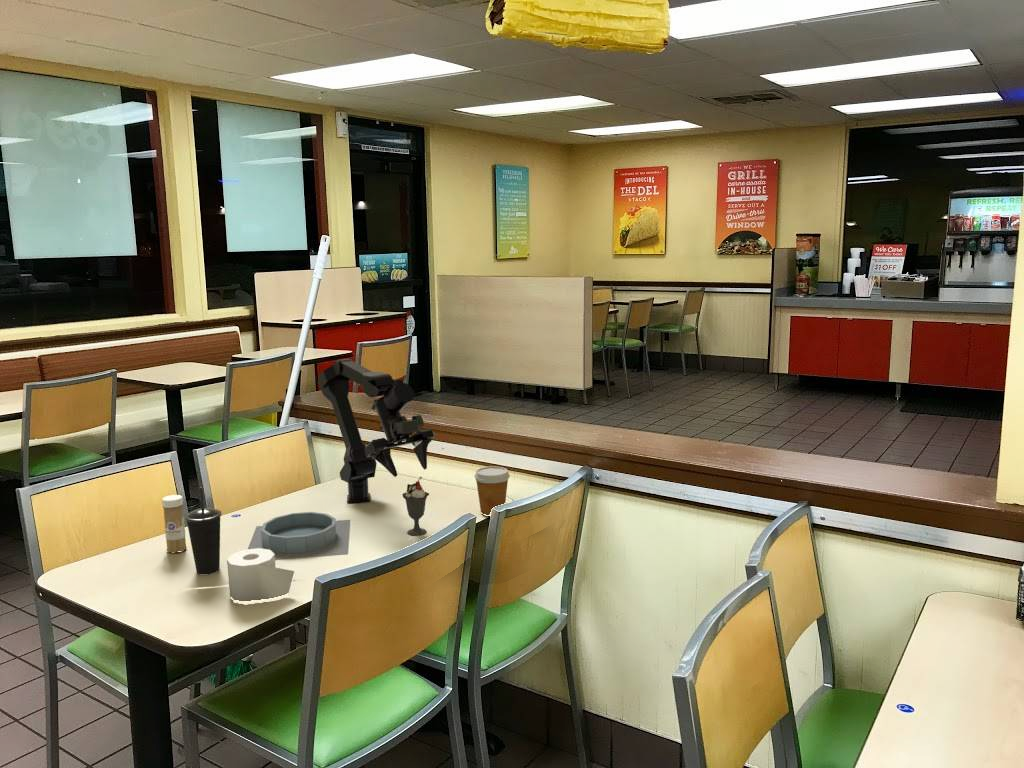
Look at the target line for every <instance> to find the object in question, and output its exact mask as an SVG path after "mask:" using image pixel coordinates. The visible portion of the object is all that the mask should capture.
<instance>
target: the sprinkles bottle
mask: <svg viewBox="0 0 1024 768" xmlns="http://www.w3.org/2000/svg"><path fill="white" fill-rule="evenodd" d="M161 499H162V500H161V504H162V508H163V518H164V532H165V534H164V535H165V539H166V552H167V551H168V552H167V553H169V552H178V551H182V550H185V549H186V548H187V541H186V527H185V516H184V507H183V506H184V499H183V496H182V495H180V494H171V495H167V496H164V497H162V498H161ZM187 549H188V548H187ZM187 549H186V550H187ZM186 550H185V551H186ZM182 552H183V551H182Z"/></svg>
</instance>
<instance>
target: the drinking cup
mask: <svg viewBox="0 0 1024 768" xmlns="http://www.w3.org/2000/svg"><path fill="white" fill-rule="evenodd" d="M198 488H199V498H200V499H199V500H200V508H197V509H194V510H192V511H191V512H188V513H187V514H185V516H184V521H186V524H187V530H188V535H189V539H190V544H191V549H192V555H193V561H194V566H195V570H196V571H195V572H196V574H197V573H199V574H198V575H200V574H208V575H212V574H211V573H213V574H215V573H217V572H219V571H218V570H220V568H221V567H220V566H221V565H220V563H221V561H220V559H221V554H220V553H221V516H222V511H221V510H220V509H217V508H212V507H205V499H204V490H203V489H204V488H203V486H199V487H198ZM216 571H217V572H216ZM214 572H215V573H214Z"/></svg>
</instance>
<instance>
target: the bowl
mask: <svg viewBox="0 0 1024 768" xmlns="http://www.w3.org/2000/svg"><path fill="white" fill-rule="evenodd" d="M336 521H337V519H336V518H335V517H333V516H332V515H330V514H328V513H325V512H324V513H323V512H316V511H315V512H314V511H304V512H293V513H287V514H284V515H280V516H275V517H273V518H271V519H269V520H267V521H266V522H264V523H263V524H262V525H261V526H262V529H261V537H262V546H263V547H264V548H266V549H268V550H271V551H272V552H278V553H285V554H291V553H304V552H310V551H313V550H317V549H320V548H324V547H326V546H328V545H329V544H331V543H332V542H334V541H335V540H336Z"/></svg>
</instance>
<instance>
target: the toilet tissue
mask: <svg viewBox="0 0 1024 768" xmlns="http://www.w3.org/2000/svg"><path fill="white" fill-rule="evenodd" d="M226 562H227V563H226V565H227V576H228V577H227V579H228V587H229V589H228V590H229V597H230V596H231V597H232V598H233V599H234V600H239V601H251V600H261V599H269V598H274V597H278V596H282V595H285V594H287V593H289V592H290V590H291V585H292V581H293V578H294V574H295V570H291V569H290V570H289V569H285V568H280V567H276V560H275V554H274V553H273V552H272V551H271V550H268V549H261V548H256V549H248V548H247V549H243V550H240V551H238V552H234V553H232V554H230V556H229V557H227V559H226Z"/></svg>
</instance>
